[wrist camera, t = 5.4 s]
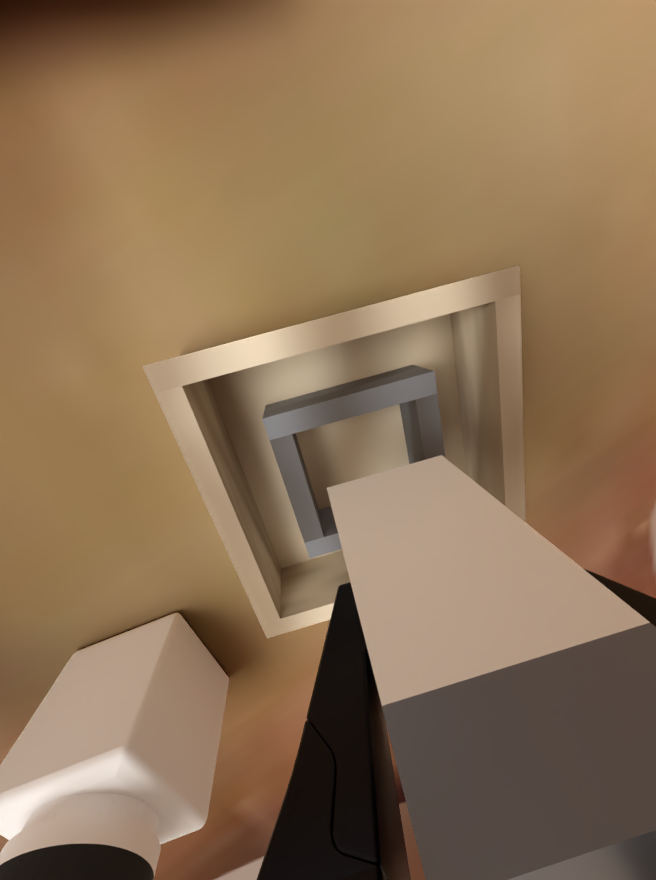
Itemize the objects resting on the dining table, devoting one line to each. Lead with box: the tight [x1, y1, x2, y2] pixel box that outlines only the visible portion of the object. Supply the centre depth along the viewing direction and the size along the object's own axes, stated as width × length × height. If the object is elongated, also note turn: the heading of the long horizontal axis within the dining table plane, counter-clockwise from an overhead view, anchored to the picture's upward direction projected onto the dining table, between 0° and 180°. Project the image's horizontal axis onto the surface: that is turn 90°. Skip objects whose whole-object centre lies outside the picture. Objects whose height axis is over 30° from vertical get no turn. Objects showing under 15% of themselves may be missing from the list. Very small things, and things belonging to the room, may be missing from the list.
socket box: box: [142, 265, 526, 638], centre depth 15 cm, size 14×14×4 cm
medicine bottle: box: [0, 613, 229, 880], centre depth 15 cm, size 7×7×12 cm
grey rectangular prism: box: [327, 455, 656, 880], centre depth 7 cm, size 4×4×8 cm
